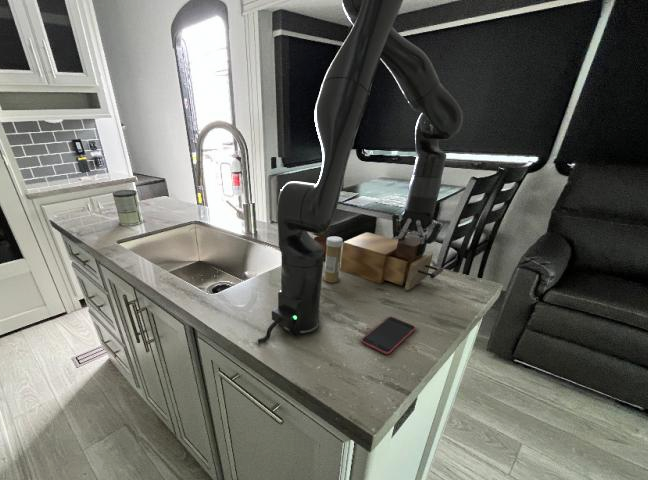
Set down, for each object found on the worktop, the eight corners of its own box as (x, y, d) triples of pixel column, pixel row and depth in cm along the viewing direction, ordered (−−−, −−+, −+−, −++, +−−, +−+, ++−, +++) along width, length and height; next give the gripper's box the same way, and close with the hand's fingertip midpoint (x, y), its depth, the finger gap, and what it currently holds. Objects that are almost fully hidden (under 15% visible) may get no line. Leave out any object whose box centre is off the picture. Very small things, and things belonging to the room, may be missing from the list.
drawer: (443, 281, 97) (450, 257, 93) (425, 296, 89) (432, 270, 85) (387, 264, 108) (391, 241, 104) (367, 275, 100) (370, 252, 97)
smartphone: (359, 339, 73) (389, 315, 81) (359, 341, 73) (389, 317, 81) (388, 354, 68) (417, 326, 77) (387, 356, 69) (416, 328, 77)
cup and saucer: (338, 263, 111) (339, 246, 108) (303, 259, 114) (304, 243, 111) (340, 250, 121) (342, 234, 118) (309, 247, 124) (310, 232, 120)
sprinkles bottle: (341, 280, 100) (346, 239, 93) (330, 284, 97) (334, 242, 91) (331, 275, 103) (335, 234, 96) (320, 278, 101) (323, 237, 94)
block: (423, 252, 95) (427, 239, 93) (411, 260, 91) (414, 246, 89) (407, 248, 98) (410, 235, 96) (395, 255, 94) (397, 242, 92)
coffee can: (117, 222, 154) (109, 191, 147) (138, 218, 160) (132, 188, 153) (124, 227, 148) (116, 195, 140) (146, 222, 153) (139, 192, 146)
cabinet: (401, 270, 106) (407, 242, 101) (380, 284, 98) (385, 254, 93) (362, 258, 115) (366, 232, 110) (340, 269, 107) (343, 242, 102)
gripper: (456, 195, 84) (439, 256, 92) (404, 187, 92) (393, 243, 101) (445, 199, 79) (428, 263, 88) (391, 191, 88) (380, 249, 97)
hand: (409, 252), depth 94 cm, fingers closed on block, 5 cm apart
